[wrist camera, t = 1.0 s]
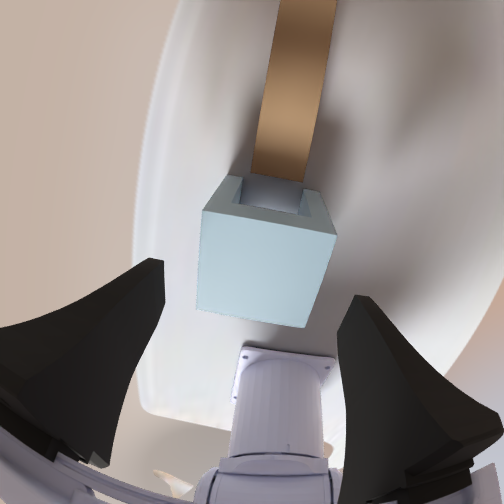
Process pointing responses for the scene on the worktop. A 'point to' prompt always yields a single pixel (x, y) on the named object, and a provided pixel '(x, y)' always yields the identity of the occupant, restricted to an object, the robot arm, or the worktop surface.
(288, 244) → the light blue open box
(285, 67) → the brown board
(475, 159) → the worktop surface
